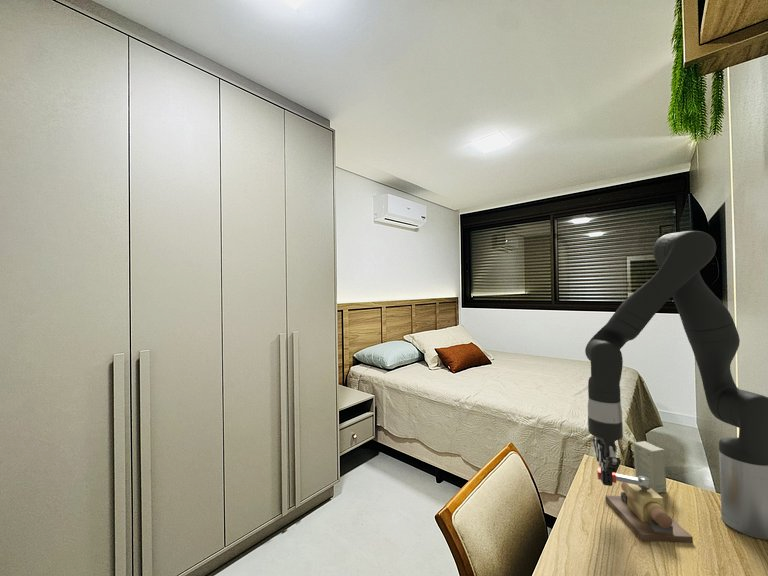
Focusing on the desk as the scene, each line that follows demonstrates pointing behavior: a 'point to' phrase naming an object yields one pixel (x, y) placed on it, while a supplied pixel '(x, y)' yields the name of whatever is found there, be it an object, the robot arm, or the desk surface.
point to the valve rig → (647, 515)
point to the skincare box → (650, 464)
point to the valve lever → (629, 479)
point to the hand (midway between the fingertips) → (606, 483)
